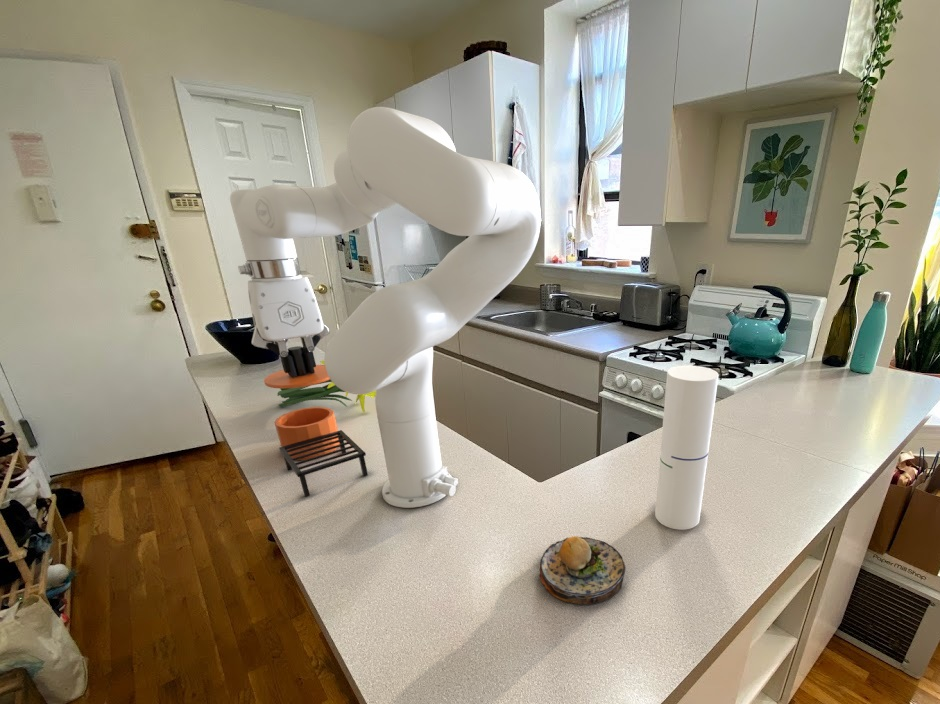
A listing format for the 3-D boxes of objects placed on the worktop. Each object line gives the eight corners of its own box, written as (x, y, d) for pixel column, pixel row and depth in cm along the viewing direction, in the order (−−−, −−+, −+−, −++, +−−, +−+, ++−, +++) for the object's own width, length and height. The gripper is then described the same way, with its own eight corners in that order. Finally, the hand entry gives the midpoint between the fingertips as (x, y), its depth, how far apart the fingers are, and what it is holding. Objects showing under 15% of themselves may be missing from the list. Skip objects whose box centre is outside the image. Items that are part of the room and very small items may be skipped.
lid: (352, 374, 89) (346, 343, 86) (294, 395, 79) (285, 360, 76) (310, 367, 94) (303, 337, 91) (250, 386, 84) (240, 353, 81)
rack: (370, 475, 91) (365, 452, 89) (304, 498, 84) (297, 474, 82) (346, 450, 100) (341, 429, 98) (285, 469, 93) (278, 447, 91)
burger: (639, 591, 62) (643, 546, 59) (556, 616, 58) (555, 570, 55) (601, 537, 72) (602, 497, 69) (529, 556, 68) (526, 514, 65)
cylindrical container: (691, 535, 72) (711, 384, 62) (648, 520, 76) (660, 375, 66) (704, 511, 78) (724, 369, 68) (663, 499, 81) (676, 362, 71)
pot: (351, 442, 104) (344, 411, 101) (307, 464, 95) (298, 431, 92) (317, 433, 109) (310, 403, 106) (272, 453, 100) (263, 422, 97)
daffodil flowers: (318, 392, 137) (411, 371, 123) (296, 433, 129) (393, 416, 115) (271, 354, 125) (367, 326, 111) (243, 397, 117) (344, 373, 103)
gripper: (224, 276, 71) (257, 389, 78) (332, 267, 81) (352, 368, 88) (215, 273, 76) (247, 379, 83) (317, 265, 86) (338, 360, 93)
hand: (301, 373), depth 86 cm, fingers closed on lid, 2 cm apart
